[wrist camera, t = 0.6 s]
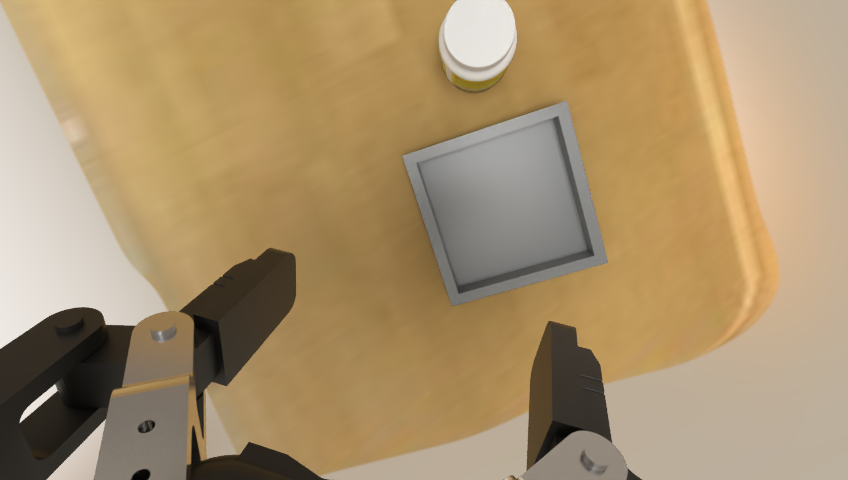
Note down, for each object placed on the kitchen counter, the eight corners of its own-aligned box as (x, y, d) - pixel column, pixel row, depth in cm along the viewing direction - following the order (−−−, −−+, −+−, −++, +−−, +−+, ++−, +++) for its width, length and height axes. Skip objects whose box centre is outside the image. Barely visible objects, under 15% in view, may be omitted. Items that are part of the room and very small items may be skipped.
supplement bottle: (519, 64, 32) (541, 37, 24) (468, 106, 33) (471, 94, 25) (480, 9, 31) (487, -38, 23) (428, 54, 32) (418, 23, 24)
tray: (406, 155, 34) (402, 155, 32) (558, 103, 32) (566, 100, 30) (452, 295, 36) (451, 306, 34) (597, 254, 35) (608, 262, 32)
